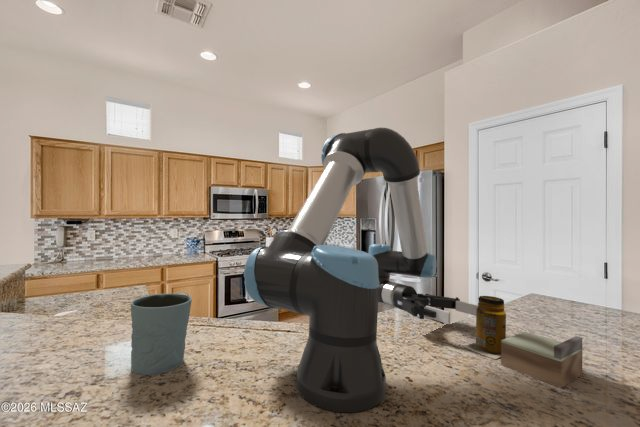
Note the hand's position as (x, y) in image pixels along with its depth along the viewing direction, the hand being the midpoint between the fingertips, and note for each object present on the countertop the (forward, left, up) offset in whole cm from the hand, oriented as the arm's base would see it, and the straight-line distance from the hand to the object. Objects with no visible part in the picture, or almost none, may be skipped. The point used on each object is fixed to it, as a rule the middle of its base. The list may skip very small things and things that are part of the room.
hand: (465, 314), depth 73 cm
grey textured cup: (-67, +20, -7) cm, 70 cm away
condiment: (-1, -6, -7) cm, 9 cm away
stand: (-1, -16, -6) cm, 18 cm away
